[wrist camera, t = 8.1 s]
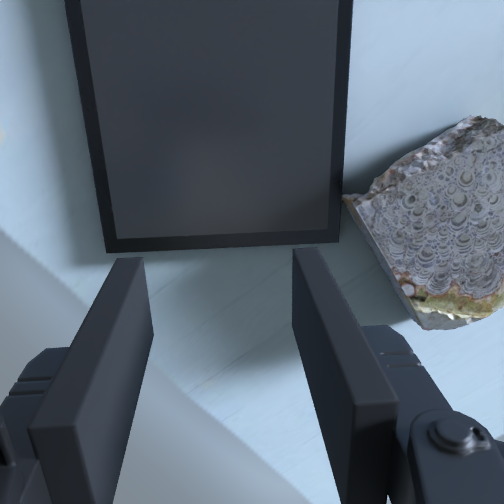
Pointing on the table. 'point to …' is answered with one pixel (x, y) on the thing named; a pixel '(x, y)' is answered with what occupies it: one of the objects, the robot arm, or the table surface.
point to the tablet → (214, 119)
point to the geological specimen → (441, 225)
